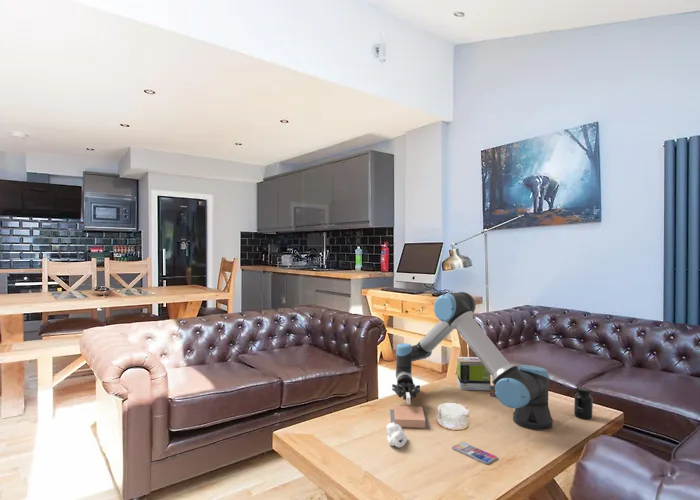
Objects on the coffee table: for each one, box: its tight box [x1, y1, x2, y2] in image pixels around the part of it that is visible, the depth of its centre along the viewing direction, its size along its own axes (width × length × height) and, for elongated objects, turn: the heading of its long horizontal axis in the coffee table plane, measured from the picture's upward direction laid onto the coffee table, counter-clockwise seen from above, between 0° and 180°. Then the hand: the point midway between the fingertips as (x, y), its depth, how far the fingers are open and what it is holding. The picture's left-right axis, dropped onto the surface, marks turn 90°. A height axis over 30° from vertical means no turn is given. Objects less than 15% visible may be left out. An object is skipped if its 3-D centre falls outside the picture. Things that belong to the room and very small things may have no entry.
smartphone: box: [451, 441, 499, 466], centre depth 149 cm, size 7×1×15 cm
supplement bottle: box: [573, 386, 594, 420], centre depth 181 cm, size 7×7×12 cm
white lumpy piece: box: [385, 422, 408, 449], centre depth 157 cm, size 9×12×8 cm
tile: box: [393, 405, 426, 429], centre depth 175 cm, size 3×12×14 cm
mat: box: [389, 408, 430, 430], centre depth 177 cm, size 18×15×1 cm
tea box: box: [456, 356, 491, 392], centre depth 217 cm, size 15×10×15 cm
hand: (408, 400), depth 176 cm, fingers closed
